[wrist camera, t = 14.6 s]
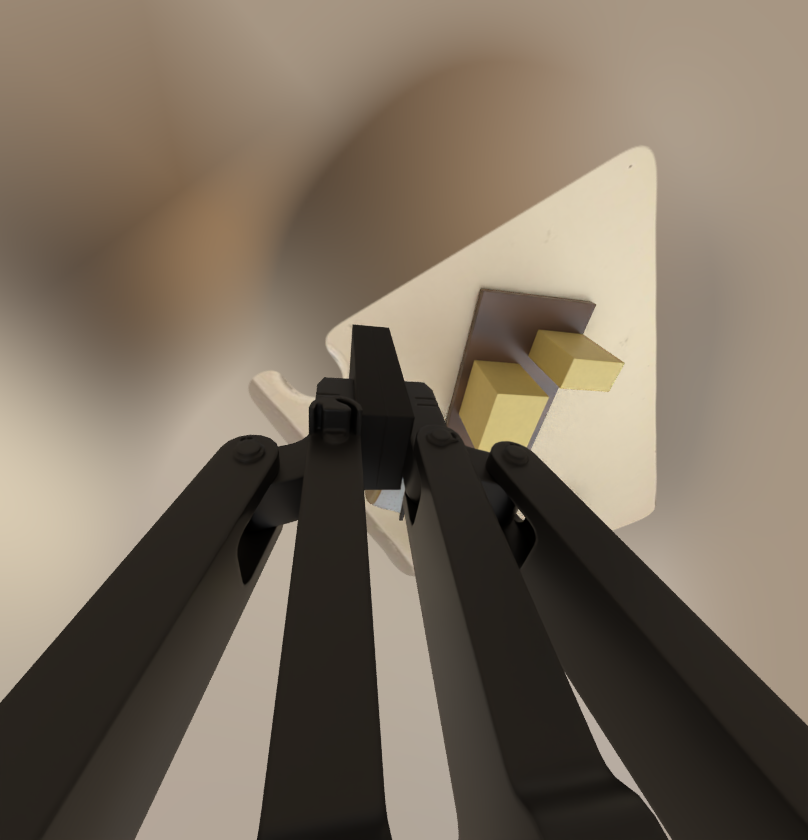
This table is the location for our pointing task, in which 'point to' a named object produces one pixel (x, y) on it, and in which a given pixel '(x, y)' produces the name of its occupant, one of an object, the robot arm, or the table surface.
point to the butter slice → (574, 361)
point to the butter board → (514, 340)
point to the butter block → (501, 404)
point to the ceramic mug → (386, 498)
